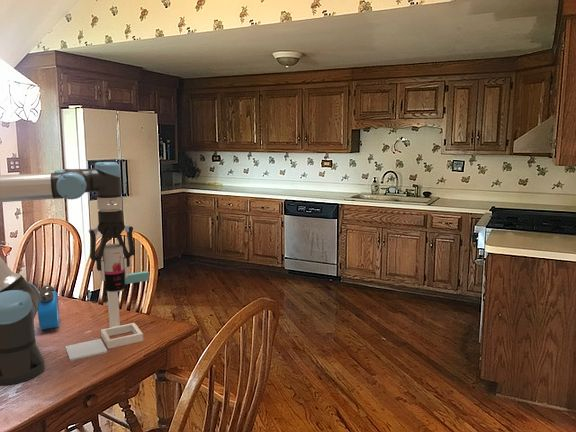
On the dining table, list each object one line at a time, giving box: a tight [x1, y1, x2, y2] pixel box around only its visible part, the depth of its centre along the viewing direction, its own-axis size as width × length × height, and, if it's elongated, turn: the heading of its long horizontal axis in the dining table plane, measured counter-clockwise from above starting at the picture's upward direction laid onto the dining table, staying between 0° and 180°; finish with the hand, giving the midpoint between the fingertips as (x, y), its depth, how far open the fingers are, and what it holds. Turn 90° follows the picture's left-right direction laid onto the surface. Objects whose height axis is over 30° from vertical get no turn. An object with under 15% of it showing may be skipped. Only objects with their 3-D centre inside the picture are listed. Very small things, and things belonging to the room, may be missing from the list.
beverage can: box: [101, 243, 126, 293], centre depth 161 cm, size 7×7×15 cm
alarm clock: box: [37, 284, 60, 331], centre depth 175 cm, size 13×6×15 cm, turn 23°
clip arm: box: [125, 270, 150, 285], centre depth 175 cm, size 4×15×3 cm, turn 120°
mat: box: [65, 338, 108, 362], centre depth 157 cm, size 11×11×1 cm
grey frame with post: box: [100, 291, 144, 350], centre depth 168 cm, size 11×18×16 cm, turn 31°
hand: (114, 278), depth 162 cm, fingers closed on beverage can, 6 cm apart
